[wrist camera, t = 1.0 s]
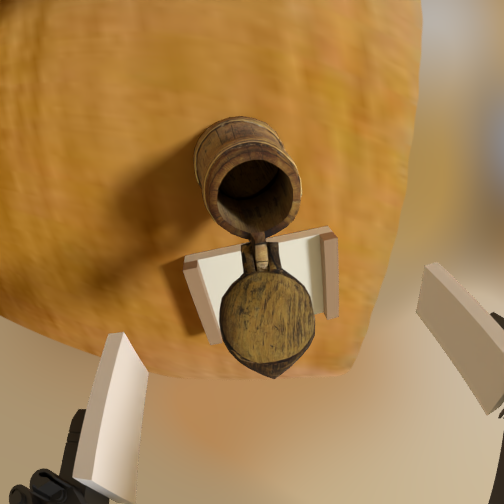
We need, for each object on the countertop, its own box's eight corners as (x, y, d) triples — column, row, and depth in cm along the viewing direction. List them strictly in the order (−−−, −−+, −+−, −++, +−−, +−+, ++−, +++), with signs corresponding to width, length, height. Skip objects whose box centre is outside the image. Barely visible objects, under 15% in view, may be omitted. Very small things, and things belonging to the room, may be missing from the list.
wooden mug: (203, 248, 32) (200, 388, 17) (189, 120, 26) (150, 153, 10) (285, 241, 33) (342, 369, 17) (284, 114, 27) (379, 143, 11)
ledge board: (184, 255, 33) (182, 270, 30) (327, 225, 33) (337, 237, 30) (209, 328, 38) (210, 345, 35) (331, 302, 38) (338, 316, 36)
